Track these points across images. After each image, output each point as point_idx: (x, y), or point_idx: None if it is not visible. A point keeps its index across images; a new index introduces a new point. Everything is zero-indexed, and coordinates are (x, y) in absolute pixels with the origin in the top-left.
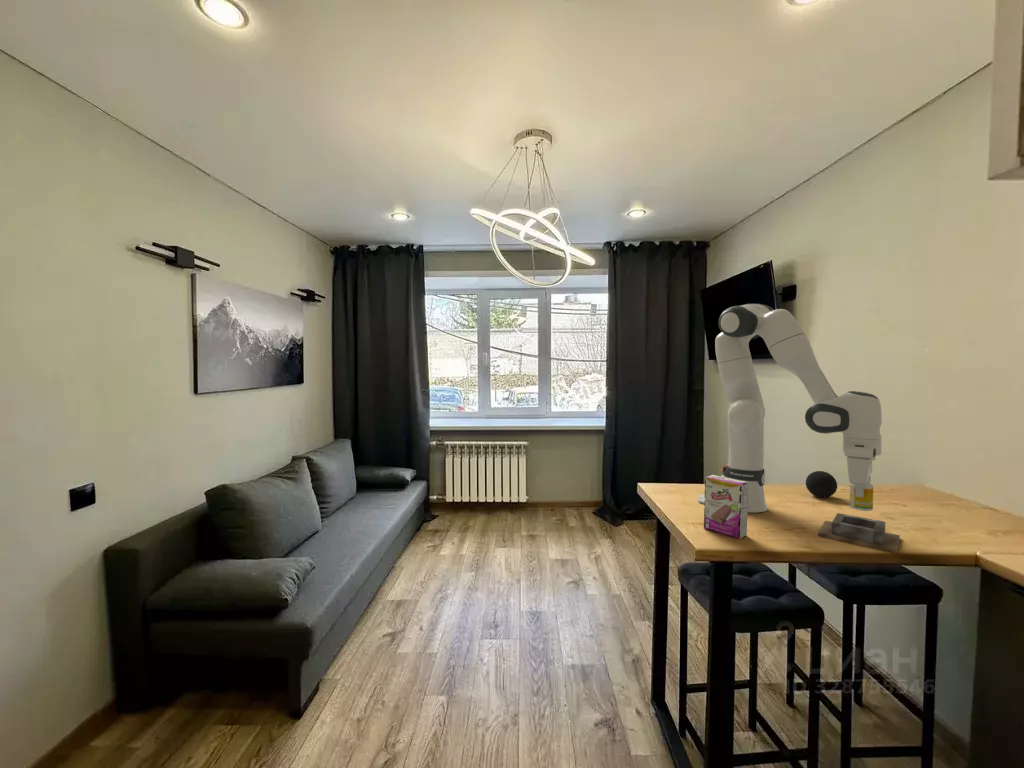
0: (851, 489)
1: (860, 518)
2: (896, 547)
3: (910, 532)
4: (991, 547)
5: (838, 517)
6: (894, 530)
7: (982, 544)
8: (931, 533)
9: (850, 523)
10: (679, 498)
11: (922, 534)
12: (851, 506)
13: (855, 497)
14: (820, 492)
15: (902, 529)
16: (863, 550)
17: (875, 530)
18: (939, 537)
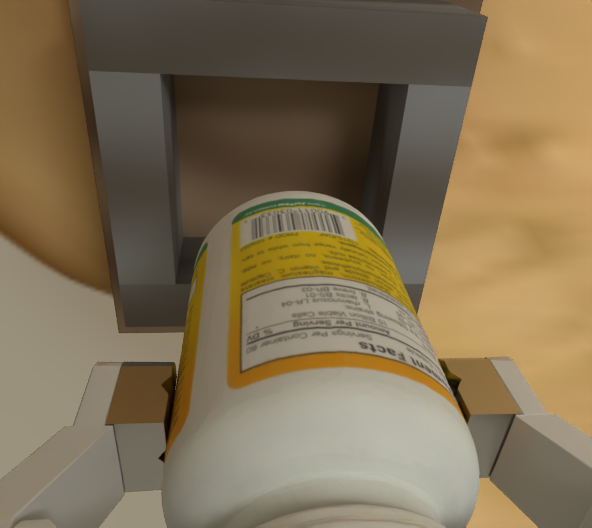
0: (231, 346)
1: (405, 196)
2: (155, 327)
3: (547, 346)
4: (479, 519)
5: (318, 38)
6: (548, 293)
7: (503, 505)
8: (572, 402)
9: (386, 113)
10: None
11: (537, 380)
12: (232, 212)
13: (194, 320)
14: None
15: (586, 319)
16: (7, 187)
17: (135, 293)
18: None
